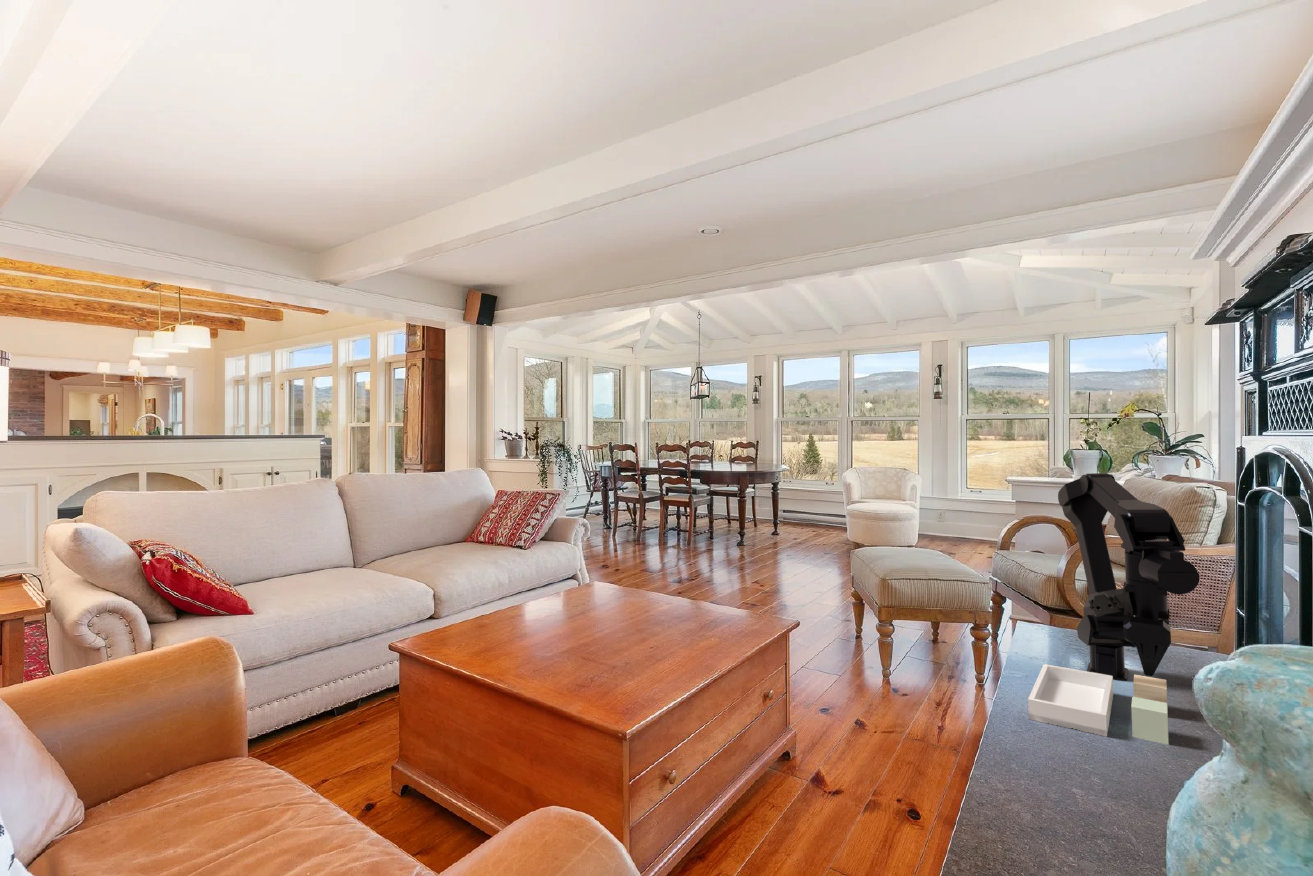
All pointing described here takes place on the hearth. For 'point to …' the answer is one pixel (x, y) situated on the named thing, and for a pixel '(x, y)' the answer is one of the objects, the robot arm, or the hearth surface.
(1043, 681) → the tray
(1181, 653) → the hearth surface
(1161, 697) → the birch block
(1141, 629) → the robot arm
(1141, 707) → the green block
